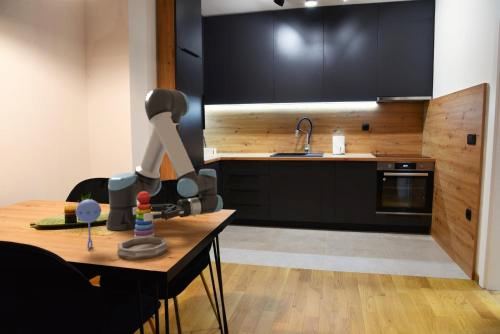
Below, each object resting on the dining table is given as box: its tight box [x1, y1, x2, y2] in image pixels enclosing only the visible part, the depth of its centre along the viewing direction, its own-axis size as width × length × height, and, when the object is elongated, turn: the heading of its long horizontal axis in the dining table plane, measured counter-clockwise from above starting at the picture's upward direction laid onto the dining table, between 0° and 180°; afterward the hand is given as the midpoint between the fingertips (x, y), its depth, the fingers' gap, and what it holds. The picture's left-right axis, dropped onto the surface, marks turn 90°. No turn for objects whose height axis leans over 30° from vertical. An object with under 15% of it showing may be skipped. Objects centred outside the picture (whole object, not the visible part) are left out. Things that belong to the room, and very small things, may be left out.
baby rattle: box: [75, 198, 102, 250], centre depth 135 cm, size 9×9×18 cm
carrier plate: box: [116, 236, 168, 261], centre depth 131 cm, size 17×17×3 cm
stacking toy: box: [133, 191, 156, 238], centre depth 147 cm, size 8×8×19 cm
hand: (138, 214), depth 145 cm, fingers open, 13 cm apart
